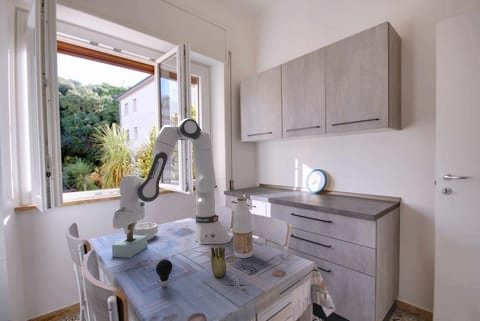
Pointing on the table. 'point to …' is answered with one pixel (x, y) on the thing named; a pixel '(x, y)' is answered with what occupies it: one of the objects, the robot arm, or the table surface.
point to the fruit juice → (242, 230)
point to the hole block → (129, 246)
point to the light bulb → (164, 271)
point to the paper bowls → (146, 230)
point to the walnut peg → (130, 235)
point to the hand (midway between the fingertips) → (129, 232)
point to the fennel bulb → (218, 261)
